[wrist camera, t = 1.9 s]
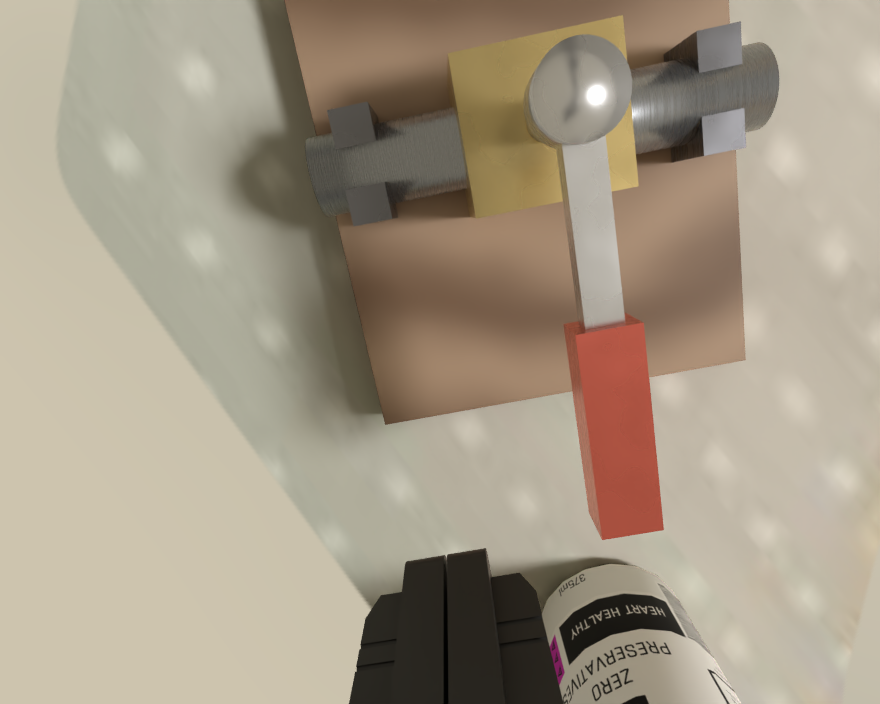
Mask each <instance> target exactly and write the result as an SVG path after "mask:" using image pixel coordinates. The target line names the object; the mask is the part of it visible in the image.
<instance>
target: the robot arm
mask: <svg viewBox="0 0 880 704" xmlns="http://www.w3.org/2000/svg"><path fill="white" fill-rule="evenodd" d="M356 667H357V672H355V676H354V681H353V687H352V692H351V697H350V702H349V704H564V703H563V699H562V695H561V691H560V687H559V683H558V679H557V675H556V670H555V666H554V662H553V658H552V654H551V650H550V646H549V642H548V638H547V634H546V630H545V626H544V622H543V618H542V614H541V610H540V605H539V601H538V597H537V593H536V591H535V590H534V588H533V587H532V586H531V585H530V584H529V583H528V582H527V581H526V580H525V578H524V577H523V576H522V575H521V574H520V573H515V574H509V575H503V576H497V577H492V575H491V570H490V565H489V560H488V555H487V551H486V548H484V549H478V550H472V551H466V552H460V553H454V554H448V555H447V559H446V556H445V555H443V556H437V557H431V558H425V559H419V560H413V561H407V562H406V564H405V570H404V579H403V588H402V592H399V593H393V594H387V595H381V596H380V598H379V599H378V601H377V602H376V604H375V605H374V607H373V608H372V610H371V611H370V613H369V614H368V616H367V617H366V619H365V624H364V629H363V635H362V640H361V649H360V650H359V655H358V661H357V666H356Z"/></svg>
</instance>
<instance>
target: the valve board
mask: <svg viewBox="0 0 880 704" xmlns="http://www.w3.org/2000/svg"><path fill="white" fill-rule="evenodd" d="M284 1H285V5H286V9H287V13H288V17H289V22H290V26H291V30H292V34H293V39H294V43H295V47H296V51H297V55H298V60H299V64H300V68H301V72H302V76H303V81H304V85H305V89H306V93H307V97H308V102H309V106H310V110H311V114H312V118H313V123H314V127H315V131H316V135H317V136H319V135H324V134H329V133H332V131H331V126H330V122H329V118H328V113H327V110H330V109H335V108H340V107H344V106H349V105H354V104H358V103H363V102H368V103H369V104H370V106H371V107H372V109H373V110H374V111H375V113H376V114H377V117H378V122H379V123H381V122H385V121H390V120H395V119H399V118H404V117H409V116H414V115H418V114H423V113H428V112H432V111H437V110H442V109H447V108H451V106H450V100H449V95H448V89H447V61H448V53H451V52H456V51H461V50H465V49H470V48H474V47H479V46H483V45H488V44H493V43H497V42H502V41H506V40H511V39H516V38H520V37H525V36H529V35H534V34H538V33H543V32H548V31H552V30H557V29H561V28H566V27H571V26H575V25H580V24H584V23H589V22H594V21H598V20H603V19H607V18H612V17H616V16H621V15H623V22H624V32H625V43H626V54H627V63H628V65H629V68H630V69H635V68H640V67H645V66H649V65H654V64H659V63H663V62H664V55H663V54H665V53H666V52H668V51H669V50H670V49H672V48H673V47H675V46H676V45H677V44H679V43H680V42H682V41H683V40H684V39H686V38H687V37H689V36H690V35H691V34H693V33H694V32H696V31H698V30H703V29H708V28H712V27H717V26H722V25H726V24H730V17H729V0H284ZM636 162H637V173H638V183H639V186H637V187H632V188H627V189H622V190H617V191H612V201H613V210H614V220H615V229H616V239H617V248H618V258H619V267H620V276H621V286H622V295H623V305H624V313H627V314H629V315H631V316H633V317H634V318H636V319H638V320H640V321H642V322H643V323H644V331H645V341H646V352H647V362H648V372H649V377H654V376H659V375H665V374H670V373H676V372H682V371H687V370H693V369H698V368H704V367H709V366H715V365H721V364H726V363H732V362H737V361H743V360H745V338H744V317H743V295H742V274H741V253H740V231H739V210H738V188H737V167H736V150H731V151H727V152H722V153H717V154H713V155H708V156H703V157H698V158H693V159H688V160H683V161H678V162H673V163H672V159H671V147H670V148H665V149H660V150H655V151H651V152H646V153H641V154H636ZM396 208H397V213H398V218H395V219H390V220H385V221H380V222H375V223H370V224H365V225H360V226H353V222H352V217H351V213H345V214H340V215H336V219H337V224H338V228H339V232H340V236H341V241H342V245H343V249H344V253H345V257H346V262H347V266H348V270H349V274H350V278H351V283H352V287H353V291H354V295H355V299H356V304H357V308H358V312H359V316H360V320H361V325H362V329H363V333H364V337H365V341H366V346H367V350H368V354H369V358H370V363H371V367H372V371H373V375H374V379H375V384H376V388H377V392H378V396H379V400H380V405H381V409H382V413H383V417H384V421H385V425H386V424H392V423H398V422H403V421H409V420H414V419H420V418H425V417H431V416H437V415H442V414H448V413H453V412H459V411H464V410H470V409H476V408H481V407H487V406H492V405H498V404H503V403H509V402H515V401H520V400H526V399H531V398H537V397H542V396H548V395H554V394H559V393H565V392H570V391H572V384H571V376H570V369H569V362H568V355H567V347H566V340H565V333H564V325H563V324H566V323H571V322H577V321H578V315H577V307H576V299H575V291H574V284H573V276H572V268H571V260H570V253H569V245H568V237H567V229H566V222H565V214H564V206H563V201H562V202H557V203H552V204H547V205H542V206H537V207H532V208H527V209H522V210H517V211H512V212H507V213H502V214H497V215H492V216H487V217H482V218H477V219H475V218H471V217H470V215H469V209H468V204H467V198H466V192H465V189H463V190H459V191H454V192H449V193H444V194H439V195H434V196H429V197H424V198H419V199H414V200H409V201H404V202H399V203H396Z"/></svg>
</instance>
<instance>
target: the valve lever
mask: <svg viewBox="0 0 880 704" xmlns="http://www.w3.org/2000/svg"><path fill="white" fill-rule="evenodd" d="M631 94H632V76H631V71H630V68H629V65H628V63H627V60H626V58H625V57H624V55H623V54H622V52H621V51H620V50H619V49H618V48H617V47H616V46H615V45H614V44H613V43H611V42H610V41H608V40H606V39H604V38H602V37H599V36H596V35H590V34H582V35H576V36H572V37H569V38H567V39H564V40H562V41H561V42H559V43H558V44H556V45H555V46H554V47H553V48H551V49H550V50H549V51H548V53H547V54H546V55H545V56H544V58H543V59H542V60H541V62H540V64H539V65H538V67H537V68H536V70H535V71H534V73H533V74H532V76H531V78H530V79H529V81H528V84H527V86H526V90H525V93H524V101H523V108H524V115H525V119H526V122H527V125H528V127H529V129H530V130H531V132H532V133H533V135H534V136H535V137H536V138H537V139H538V140H539V141H541V142H542V143H543V144H545V145H547V146H549V147H551V148H554V149H556V152H557V160H558V168H559V175H560V183H561V191H562V199H563V206H564V214H565V222H566V229H567V237H568V245H569V253H570V260H571V268H572V276H573V284H574V291H575V299H576V307H577V315H578V321H577V322H571V323H566V324H563V325H564V333H565V340H566V347H567V355H568V362H569V369H570V376H571V384H572V391H573V398H574V406H575V413H576V420H577V428H578V435H579V442H580V450H581V457H582V464H583V471H584V479H585V486H586V493H587V501H588V508H589V514H590V516H591V518H592V520H593V522H594V524H595V526H596V528H597V530H598V532H599V534H600V536H601V538H602V540H605V539H611V538H618V537H624V536H630V535H636V534H642V533H648V532H654V531H660V530H664V528H663V517H662V507H661V497H660V486H659V476H658V466H657V455H656V445H655V435H654V424H653V414H652V403H651V393H650V383H649V372H648V362H647V352H646V341H645V331H644V323H643V322H642V321H640V320H638V319H636V318H634V317H633V316H631V315H629V314H627V313H624V305H623V295H622V286H621V276H620V267H619V258H618V248H617V239H616V229H615V220H614V210H613V201H612V191H611V182H610V173H609V163H608V154H607V144H606V134H608V133H609V132H610V131H612V130H613V129H614V128H615V127H616V126H617V125H618V123H619V122H620V121H621V119H622V118H623V116H624V115H625V113H626V110H627V108H628V106H629V103H630V99H631Z"/></svg>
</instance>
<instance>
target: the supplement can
mask: <svg viewBox="0 0 880 704" xmlns="http://www.w3.org/2000/svg"><path fill="white" fill-rule="evenodd" d="M542 618H543V622H544V626H545V630H546V634H547V638H548V642H549V646H550V650H551V654H552V658H553V662H554V666H555V670H556V675H557V679H558V683H559V687H560V691H561V695H562V699H563V703H564V704H741V702H740V700H739V699H738V697H737V695H736V694H735V692H734V690H733V689H732V687H731V685H730V684H729V682H728V680H727V679H726V677H725V676H724V674H723V672H722V671H721V669H720V667H719V666H718V664H717V662H716V661H715V659H714V657H713V656H712V654H711V652H710V651H709V649H708V647H707V646H706V644H705V642H704V641H703V639H702V637H701V636H700V634H699V633H698V631H697V629H696V628H695V626H694V624H693V623H692V621H691V619H690V618H689V616H688V614H687V613H686V611H685V609H684V608H683V606H682V604H681V603H680V601H679V599H678V598H677V596H676V595H675V593H674V591H673V590H672V589H671V588H670V587H669V586H668V585H667V584H666V583H665V582H664V581H663V580H662V579H661V578H660V577H659V576H658V575H655V574H653V573H651V572H648V571H646V570H644V569H641V568H639V567H637V566H630V565H619V564H607V565H602V566H598V567H593V568H589V569H585V570H583V571H581V572H579V573H578V574H576V575H574V576H572V577H570V578H569V579H567V580H565V581H563V582H562V583H561V585H560V586H559V587H558V588H557V589H556V590H555V591H554V592H553V593H552V595H551V596H550V597H549V598H548V599H547V602H546V604H545V607H544V609H543V612H542Z"/></svg>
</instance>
